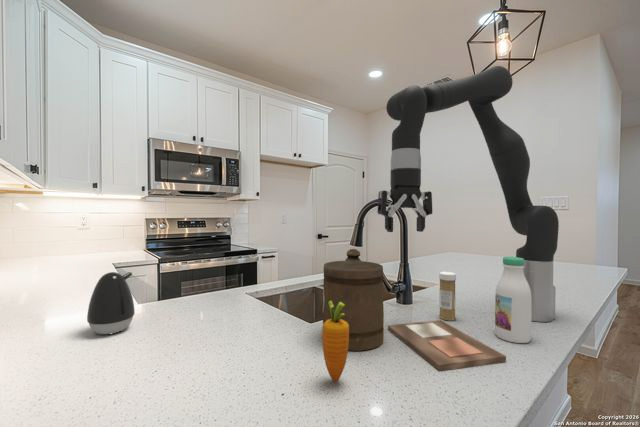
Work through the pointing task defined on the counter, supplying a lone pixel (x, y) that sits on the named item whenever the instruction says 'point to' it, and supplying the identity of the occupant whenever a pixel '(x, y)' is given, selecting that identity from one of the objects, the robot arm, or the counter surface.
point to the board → (445, 345)
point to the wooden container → (356, 299)
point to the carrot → (335, 342)
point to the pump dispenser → (111, 304)
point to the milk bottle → (513, 303)
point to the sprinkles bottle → (447, 295)
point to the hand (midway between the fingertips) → (405, 231)
